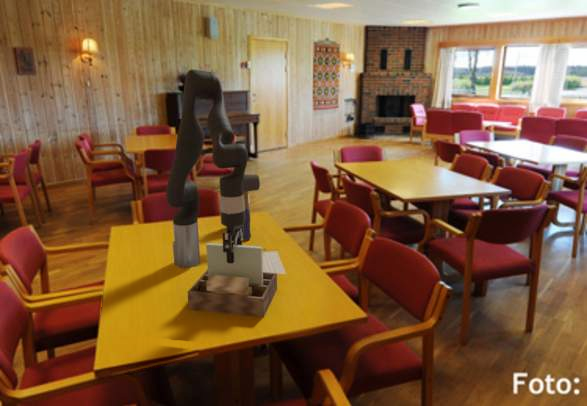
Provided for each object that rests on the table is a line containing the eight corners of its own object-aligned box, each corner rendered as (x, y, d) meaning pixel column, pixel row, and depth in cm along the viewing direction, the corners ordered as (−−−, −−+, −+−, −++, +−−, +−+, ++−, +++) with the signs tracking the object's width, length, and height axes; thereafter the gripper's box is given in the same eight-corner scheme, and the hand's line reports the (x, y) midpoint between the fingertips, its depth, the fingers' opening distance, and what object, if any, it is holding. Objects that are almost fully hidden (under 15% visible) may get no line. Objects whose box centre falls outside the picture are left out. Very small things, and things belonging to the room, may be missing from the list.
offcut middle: (210, 299, 135) (209, 290, 134) (216, 292, 140) (215, 283, 139) (247, 303, 133) (247, 294, 132) (252, 295, 138) (251, 286, 137)
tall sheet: (209, 295, 144) (206, 244, 139) (211, 293, 145) (208, 242, 140) (262, 300, 141) (261, 248, 136) (263, 298, 142) (262, 246, 137)
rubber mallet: (234, 243, 193) (231, 177, 185) (231, 237, 200) (229, 173, 192) (261, 240, 196) (260, 175, 188) (258, 235, 203) (257, 172, 195)
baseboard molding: (256, 291, 151) (290, 288, 154) (256, 283, 151) (290, 280, 153) (248, 256, 181) (277, 254, 183) (248, 250, 180) (277, 248, 182)
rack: (189, 313, 136) (187, 291, 134) (210, 287, 153) (209, 267, 151) (264, 321, 132) (263, 298, 129) (277, 293, 149) (276, 273, 146)
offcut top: (206, 290, 134) (206, 281, 134) (212, 283, 139) (212, 274, 138) (244, 294, 132) (243, 285, 132) (248, 286, 137) (248, 277, 136)
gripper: (228, 202, 142) (230, 248, 147) (212, 215, 129) (215, 265, 133) (250, 203, 141) (252, 250, 145) (237, 216, 127) (239, 267, 132)
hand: (234, 257), depth 139 cm, fingers open, 8 cm apart
